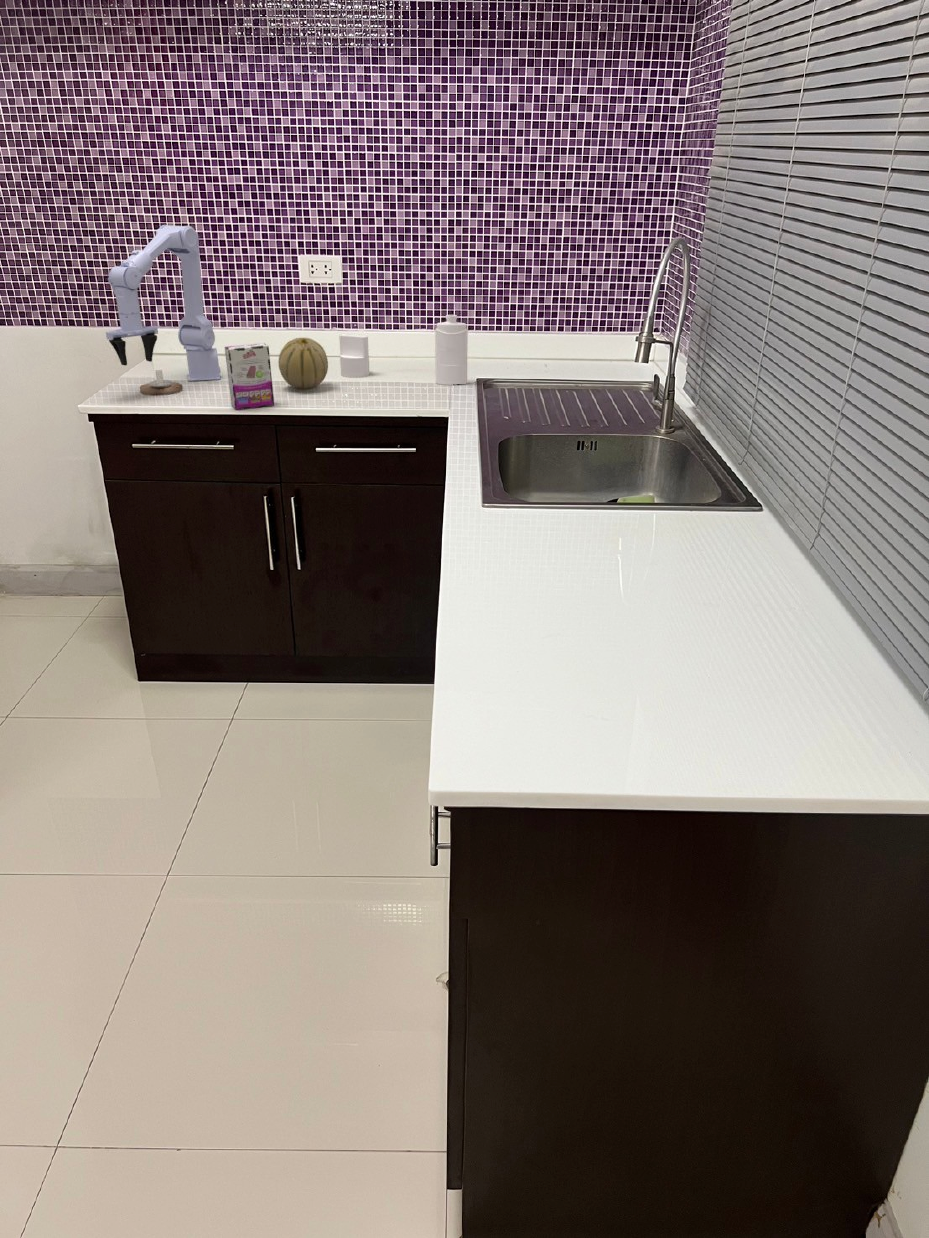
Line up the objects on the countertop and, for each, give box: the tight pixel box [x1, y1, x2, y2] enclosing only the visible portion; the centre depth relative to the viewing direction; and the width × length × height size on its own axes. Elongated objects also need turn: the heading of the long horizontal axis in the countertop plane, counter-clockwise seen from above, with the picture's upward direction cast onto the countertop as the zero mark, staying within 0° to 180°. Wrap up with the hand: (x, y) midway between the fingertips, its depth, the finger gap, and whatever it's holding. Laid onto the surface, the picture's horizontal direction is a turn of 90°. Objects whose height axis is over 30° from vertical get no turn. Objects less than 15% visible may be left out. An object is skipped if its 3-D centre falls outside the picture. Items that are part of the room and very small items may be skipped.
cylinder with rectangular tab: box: [339, 333, 371, 379], centre depth 292 cm, size 9×9×12 cm
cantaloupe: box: [278, 337, 329, 390], centre depth 274 cm, size 15×15×15 cm
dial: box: [149, 369, 172, 388], centre depth 271 cm, size 8×6×4 cm
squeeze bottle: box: [434, 314, 469, 386], centre depth 280 cm, size 10×20×5 cm
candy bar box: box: [224, 342, 275, 411], centre depth 254 cm, size 11×5×16 cm, turn 117°
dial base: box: [139, 381, 184, 396], centre depth 273 cm, size 12×12×1 cm
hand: (136, 363), depth 262 cm, fingers open, 7 cm apart
